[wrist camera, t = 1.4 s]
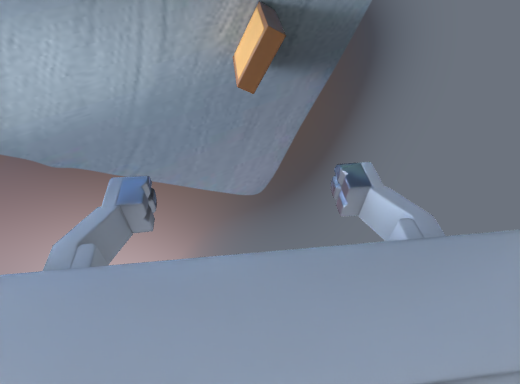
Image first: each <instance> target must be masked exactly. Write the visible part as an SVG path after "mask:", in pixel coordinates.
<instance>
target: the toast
mask: <svg viewBox="0 0 520 384" xmlns="http://www.w3.org/2000/svg"><path fill="white" fill-rule="evenodd" d="M285 37H286V34H285V32H284V30H283V28H282V25H281V23H280V21H279V19H278V16H277V14H276V12H275V10H273V9H272V8H270V7H268V6H267V5H265V4H263V3H261V2H260V1H259V2H258V4H257V6H256V9H255V11H254V13H253V15H252V17H251V19H250V22H249V24H248V26H247V28H246V30H245V32H244V34H243V37H242V39H241V41H240V43H239V45H238V47H237V50H236V52H235V54H234V56H233V62H234V69H235V76H236V83H237V87H238V88H241V89H243V90H245V91H248V92H250V93H252V94H254V93H255V91H256V89H257V87H258V85H259V84H260V82H261V80H262V78H263V76H264V75H265V73H266V71H267V69H268V67H269V65H270V64H271V62H272V60H273V58H274V56H275V55H276V53H277V51H278V49H279V47H280V46H281V44H282V42H283V40H284V38H285Z"/></svg>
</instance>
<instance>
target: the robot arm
mask: <svg viewBox="0 0 520 384" xmlns="http://www.w3.org/2000/svg"><path fill="white" fill-rule="evenodd" d="M334 171H335V174H336V175H335V176H334V177H333V178H332V181H331V191H332V195H333V198H334V199H336V200H337V204H336V206H337V209H338V211H339V214H340V216H358V217H360V218H361V219H362V220H363V221H364V222H365V223H366V224H367V225H368V226H369V227H371V228H372V229H373V230H374V231H375V232H376V233H377V234H378V235H379V236H380V237H382V238H383V239H384V240H385V241H384V242H372V243H361V244H350V245H338V246H326V247H315V248H303V249H292V250H281V251H269V252H257V253H246V254H236V255H223V256H212V257H201V258H189V259H178V260H166V261H155V262H143V263H132V264H120V265H108V264H109V263H110V262H111V261H112V259H113V258H114V257H115V256H116V254H117V253H118V252H119V251H120V249H121V248H122V247H123V246H124V245H125V243H126V242H127V241H128V240H129V238H130V237H131V236H132V235H133V234H132V233H140V232H149V231H153V227H154V220H155V218H154V215H153V213H154V212H155V211H156V205H157V203H156V194H155V190H154V189H153V188H151V184H152V181H151V179H150V177H149V176H135V177H119V178H118V177H117V178H111V179H110V181H109V184H108V187H107V191H106V194H105V197H104V200H103V204H102V207H97V208H96V209H95V210H94V211H93V212H92V213H91V214H89V215H88V216H87V217H86V218H85V219H84V220H82V221H81V222H80V223H79V224H78V225H76V226H75V227H74V228H73V229H72V230H71V231H69V232H68V233H67V234H66V235H65V236H64V237H62V238H61V239H60V240H59V241H58V242H56V243H55V244H54V245H53V247H52V249H51V252H50V254H49V257H48V259H47V262H46V264H45V267H44V269H43V271H40V272H29V273H19V274H18V273H17V274H6V275H0V384H520V230H509V231H498V232H487V233H476V234H464V235H452V236H445V234H444V233H443V231H442V229H441V228H440V226H439V225H438V223H437V222H436V220H435V218H434V217H433V215H431V214H430V213H428V212H426V211H425V210H423V209H422V208H420V207H418V206H417V205H416V204H414V203H412V202H411V201H409V200H408V199H406V198H405V197H403V196H401V195H400V194H398V193H397V192H395V191H394V190H392V189H390V188H389V187H384V185H383V183H382V181H381V179H380V177H379V176H378V174H377V172H376V171H375V169H374V167H373V165H372V163H370V162H361V163H348V164H337V165H336V167H335V170H334Z"/></svg>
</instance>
